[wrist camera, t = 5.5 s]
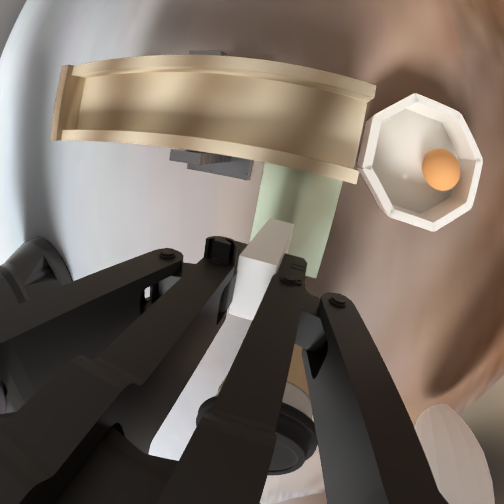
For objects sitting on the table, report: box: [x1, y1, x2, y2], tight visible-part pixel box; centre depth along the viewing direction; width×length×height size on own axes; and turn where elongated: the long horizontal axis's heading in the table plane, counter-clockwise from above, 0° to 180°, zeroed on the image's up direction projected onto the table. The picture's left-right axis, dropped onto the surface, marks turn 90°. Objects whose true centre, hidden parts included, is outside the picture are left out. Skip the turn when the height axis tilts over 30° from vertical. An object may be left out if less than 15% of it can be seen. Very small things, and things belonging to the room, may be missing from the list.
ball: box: [422, 149, 460, 191], centre depth 18 cm, size 4×4×4 cm
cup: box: [415, 404, 495, 504], centre depth 18 cm, size 10×10×22 cm
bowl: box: [357, 93, 483, 232], centre depth 19 cm, size 10×10×4 cm
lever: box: [50, 55, 376, 278], centre depth 17 cm, size 22×13×3 cm, turn 79°
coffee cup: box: [196, 344, 318, 475], centre depth 23 cm, size 9×9×15 cm
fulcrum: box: [169, 51, 253, 180], centre depth 21 cm, size 14×11×7 cm
